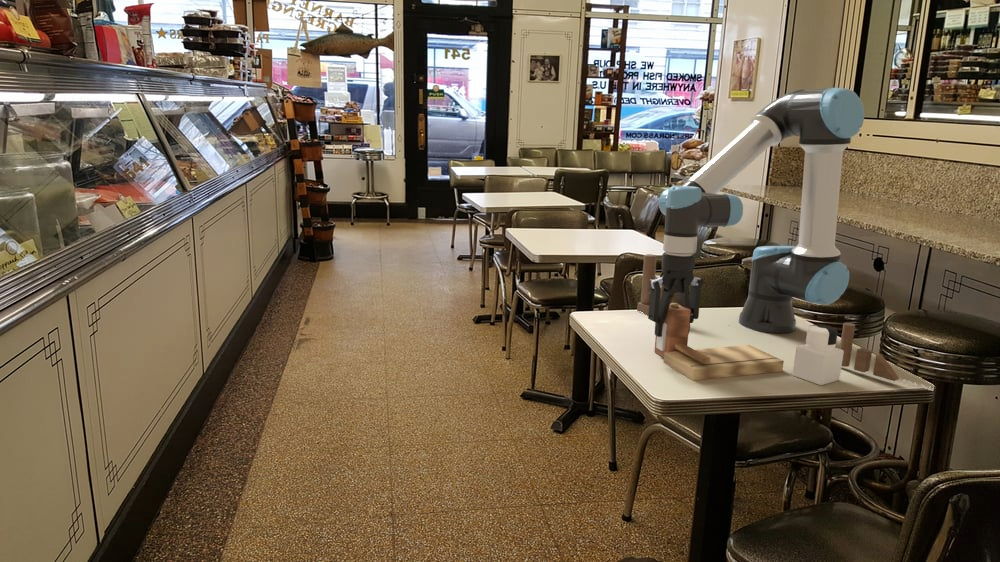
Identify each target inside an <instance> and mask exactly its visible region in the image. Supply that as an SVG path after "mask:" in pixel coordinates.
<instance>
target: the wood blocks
mask: <svg viewBox="0 0 1000 562" xmlns="http://www.w3.org/2000/svg"><path fill="white" fill-rule="evenodd" d="M855 328H856V324H855V323H851V322H843V324H842V332H841V337H840V338H841V339H840V344H839V349H842V350H843V351H844V353H843V360H842V367H844V368H846V367H850V364H851V363H850V362H851V355H852V351H853V350H852V349H853V342H854V335H855ZM872 355H873V351H872V349H868V348H865V347H860V348H857V349H856V353H855V360H854V366H853V370H854V371H857V372H861V373H867V372H869V371H870V366H871V361H872ZM893 369H894V368H892V367H891V365H890V364H889V362H888V360H886V358H885V357H884V355H883V354H882V353H879V354H878V353H877V355H875V359H874V364H873V372H872V376H876V377H878V378H882V379H885V380H888V381H889V380H890V381H893V382H896V381H898V380H899V379H900V377H899V376H898V374H896V372H895V370H893ZM902 383H903V384H906V385H908V386H914V387H918V384H917V383H916V382H915V381H914V382H912V381H911V380H906V379H905V378H904V379H902ZM920 387H921V389H925V390H928V391H932V392H933V391H934V388H935V387H934V386H933V387H932V386H931V385H930V386H929V387H928V386H925V385H924V384H920Z"/></svg>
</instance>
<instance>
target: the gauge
mask: <svg viewBox="0 0 1000 562" xmlns="http://www.w3.org/2000/svg"><path fill="white" fill-rule="evenodd" d="M690 312H691V310H690V309H688V308H685V307H683V306H681V305H680V303H678V302H673V303H671V304H670V306H669V309H668V312H667V315H666V318H665V322H664V323H665V324H667V330H666V342H665V351H661V350H659V349H658V348H656V341H657V336H656V335H655V342H654V343H655V344H654V350H653V351H654V353H655V354H657V355H658V356H661V357H662V358H664V352H674V351H681V352H683V353H685V354H687V355H688V356H690V357H692V358H694V359H696V360H698V361H699V362H701V363H708V362H710V358H709V357H707V356H706V355H704V354H702V353H700V352H698V351H696V350H697V349H694V348H693V347H690V346H688V341H689V334H690V332H689V322H690ZM688 333H689V334H688Z"/></svg>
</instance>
